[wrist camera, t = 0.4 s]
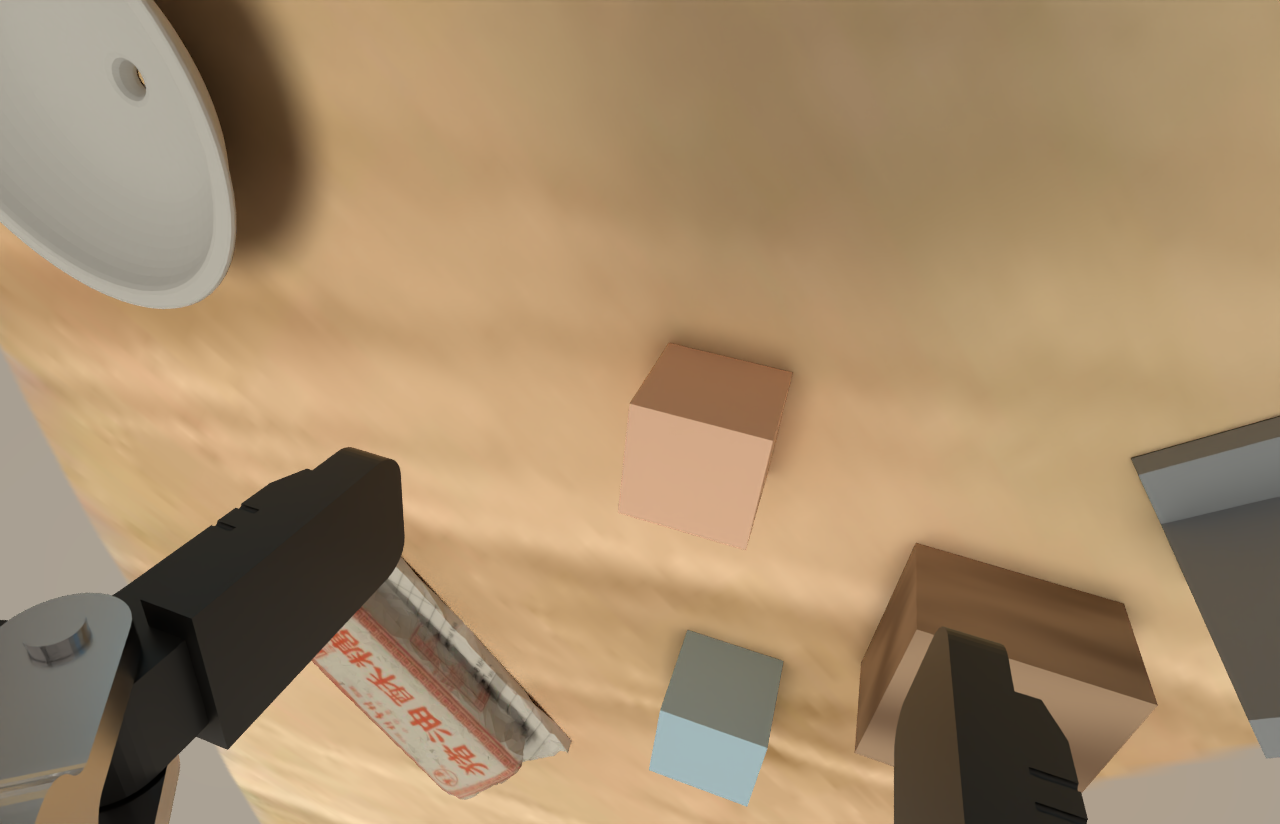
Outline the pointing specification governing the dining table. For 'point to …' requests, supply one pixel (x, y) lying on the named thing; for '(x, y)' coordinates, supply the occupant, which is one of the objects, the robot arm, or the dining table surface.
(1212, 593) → the display stand
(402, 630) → the packaged product
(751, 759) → the blue block
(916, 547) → the walnut block
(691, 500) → the terracotta block
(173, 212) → the dish
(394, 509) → the robot arm
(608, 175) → the dining table surface
